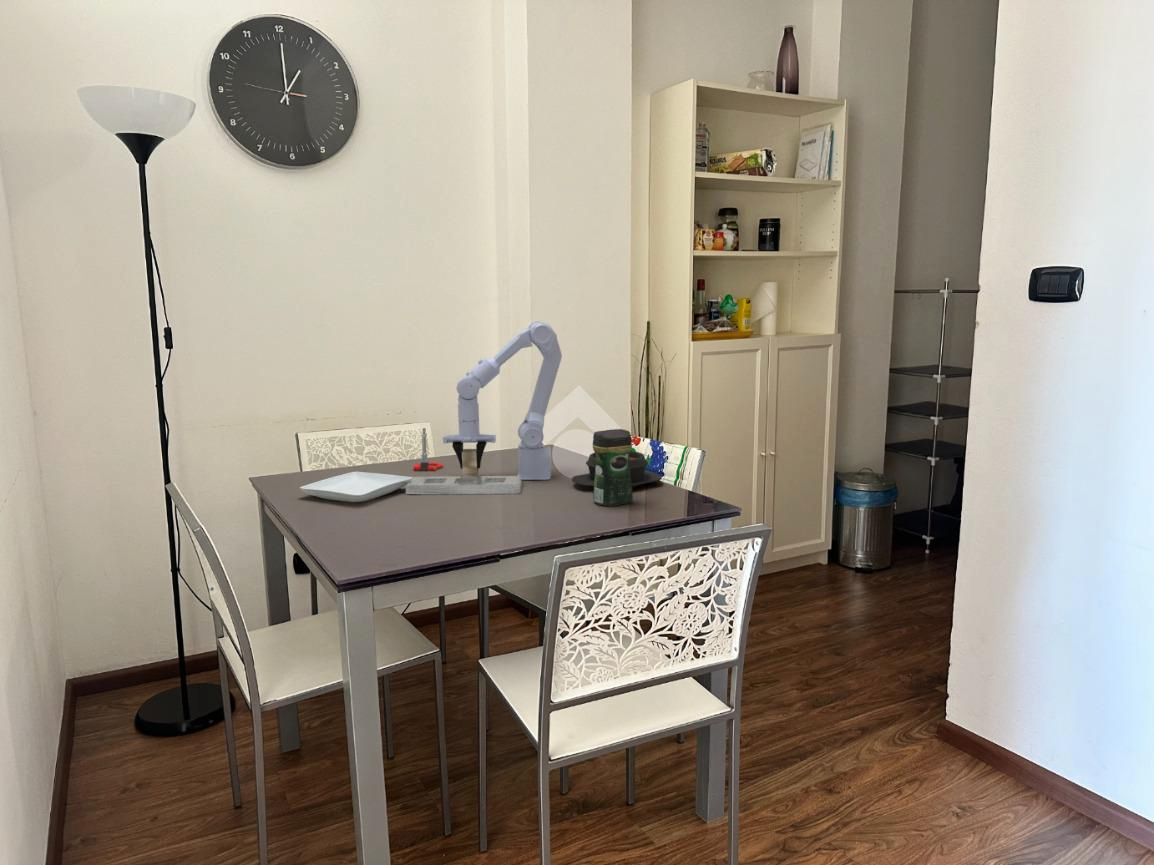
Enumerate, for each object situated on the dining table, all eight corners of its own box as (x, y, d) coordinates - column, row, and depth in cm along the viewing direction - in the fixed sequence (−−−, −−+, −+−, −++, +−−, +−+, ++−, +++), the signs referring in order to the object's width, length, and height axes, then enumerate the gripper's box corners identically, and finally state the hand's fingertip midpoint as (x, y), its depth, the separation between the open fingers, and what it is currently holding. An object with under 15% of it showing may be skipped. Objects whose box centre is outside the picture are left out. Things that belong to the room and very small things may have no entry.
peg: (478, 476, 234) (477, 448, 233) (477, 479, 230) (476, 451, 229) (464, 476, 234) (463, 449, 233) (462, 479, 230) (461, 451, 229)
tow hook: (419, 466, 254) (410, 471, 245) (418, 424, 252) (409, 428, 243) (446, 466, 253) (437, 471, 244) (445, 424, 251) (437, 428, 242)
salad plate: (297, 498, 213) (297, 486, 212) (355, 481, 231) (354, 469, 231) (360, 507, 203) (359, 494, 203) (414, 489, 222) (414, 476, 221)
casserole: (582, 496, 213) (581, 464, 212) (564, 480, 231) (564, 451, 229) (672, 489, 219) (672, 458, 218) (648, 474, 237) (648, 446, 236)
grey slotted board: (522, 484, 226) (522, 475, 226) (519, 493, 216) (519, 484, 216) (413, 485, 226) (413, 476, 226) (406, 494, 216) (405, 485, 216)
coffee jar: (622, 496, 212) (622, 425, 209) (637, 503, 205) (637, 430, 202) (588, 501, 208) (587, 428, 205) (602, 508, 201) (602, 433, 198)
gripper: (440, 422, 225) (442, 471, 227) (493, 422, 225) (494, 470, 227) (444, 418, 232) (446, 465, 234) (495, 418, 232) (497, 465, 234)
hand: (470, 467), depth 231 cm, fingers closed on peg, 4 cm apart
